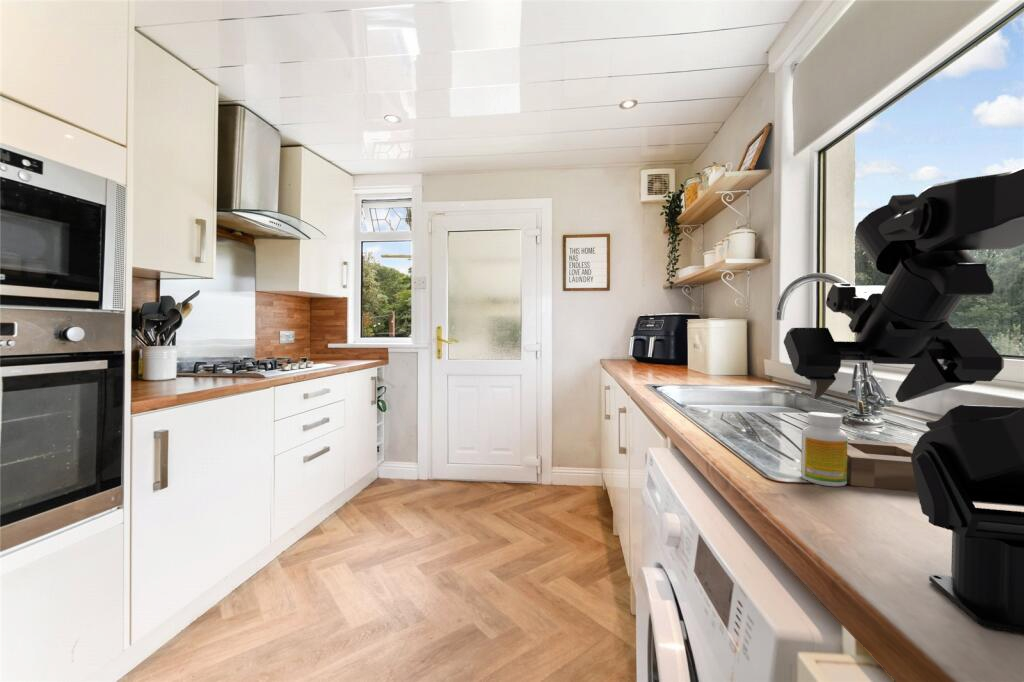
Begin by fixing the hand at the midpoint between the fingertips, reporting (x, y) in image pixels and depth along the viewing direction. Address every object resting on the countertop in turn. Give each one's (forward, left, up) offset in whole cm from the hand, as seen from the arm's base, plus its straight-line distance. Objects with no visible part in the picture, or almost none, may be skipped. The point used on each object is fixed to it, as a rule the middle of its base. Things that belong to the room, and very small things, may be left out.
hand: (855, 397), depth 54 cm
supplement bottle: (+8, +1, -14) cm, 16 cm away
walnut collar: (+13, -8, -13) cm, 20 cm away
